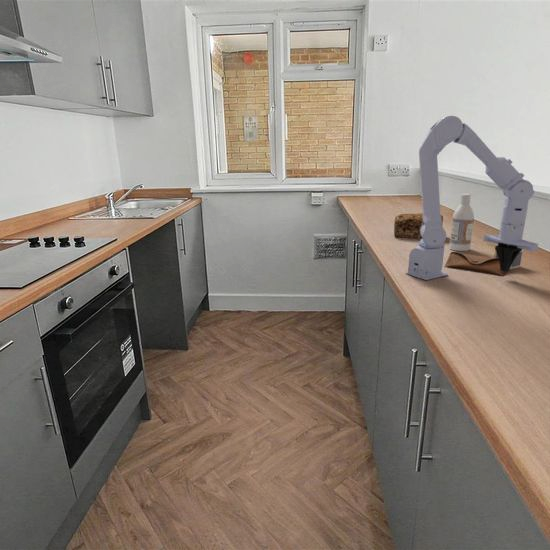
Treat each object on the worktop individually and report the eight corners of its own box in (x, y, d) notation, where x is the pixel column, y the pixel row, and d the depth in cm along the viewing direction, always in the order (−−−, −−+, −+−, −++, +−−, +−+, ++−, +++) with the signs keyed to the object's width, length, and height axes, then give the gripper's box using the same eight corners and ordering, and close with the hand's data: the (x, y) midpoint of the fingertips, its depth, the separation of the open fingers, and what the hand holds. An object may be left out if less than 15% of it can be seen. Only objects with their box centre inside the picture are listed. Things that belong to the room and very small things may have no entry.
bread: (441, 236, 172) (443, 212, 169) (440, 241, 163) (443, 216, 160) (395, 233, 179) (397, 210, 176) (392, 238, 170) (394, 214, 167)
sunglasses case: (441, 267, 129) (446, 247, 130) (445, 272, 135) (450, 253, 136) (506, 276, 119) (510, 255, 120) (507, 282, 125) (511, 261, 125)
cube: (510, 270, 125) (512, 252, 124) (492, 265, 130) (495, 248, 128) (520, 267, 128) (523, 250, 126) (503, 262, 133) (506, 246, 131)
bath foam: (462, 252, 145) (469, 195, 139) (445, 248, 151) (451, 194, 145) (473, 249, 149) (481, 194, 143) (456, 246, 154) (463, 192, 148)
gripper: (548, 226, 108) (538, 274, 112) (497, 218, 120) (490, 262, 125) (532, 229, 105) (523, 279, 109) (481, 220, 117) (475, 265, 121)
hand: (504, 270), depth 117 cm, fingers closed
